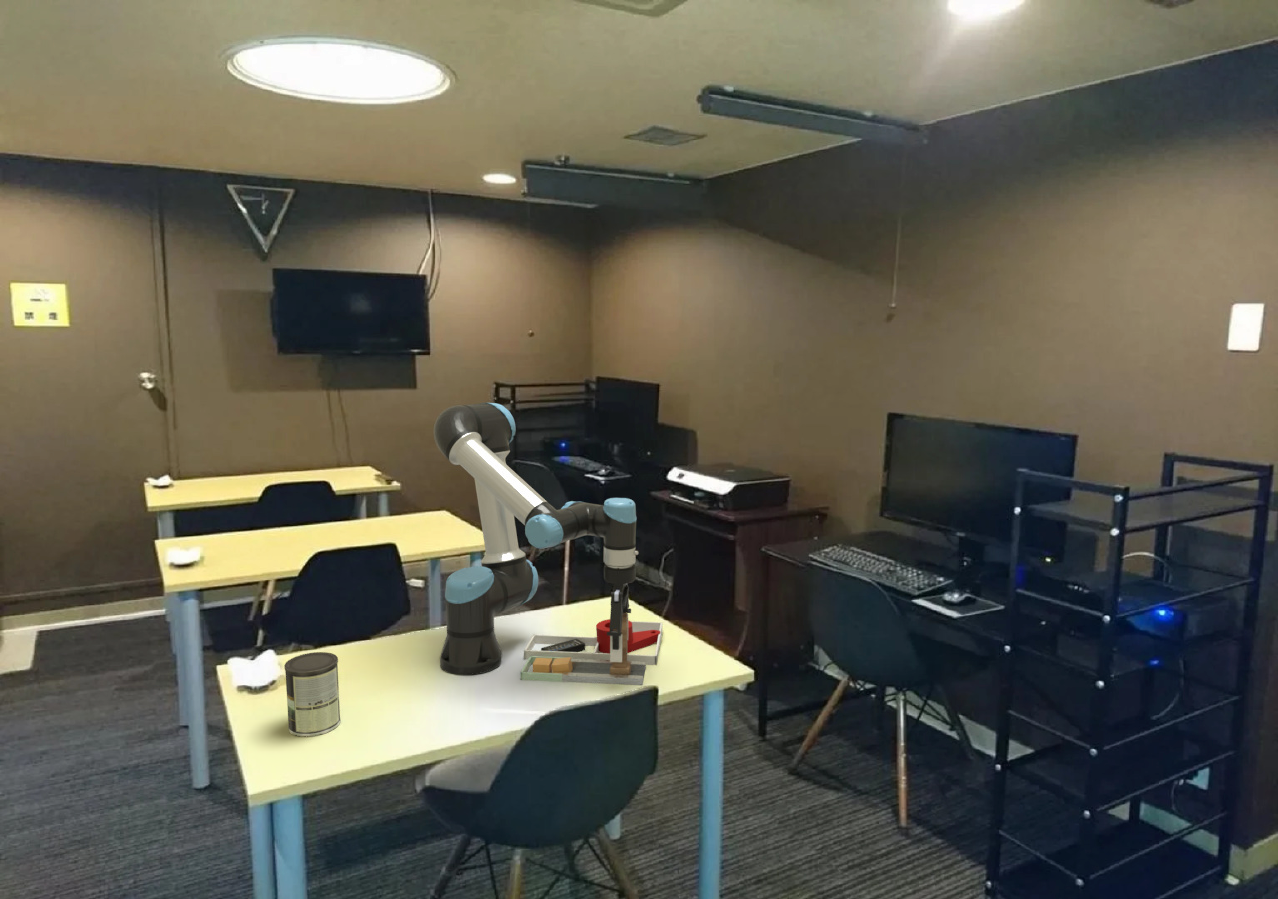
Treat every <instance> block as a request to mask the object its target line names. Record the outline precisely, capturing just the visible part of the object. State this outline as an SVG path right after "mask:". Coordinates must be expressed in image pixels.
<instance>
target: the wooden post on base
mask: <svg viewBox="0 0 1278 899" xmlns="http://www.w3.org/2000/svg"><path fill="white" fill-rule="evenodd" d="M628 620H629V613H623V618H622V631H621V632H622V662H612V664H611V667H610V674H614V675H630V673H631V662H627V654H628V653H627V639H628ZM616 631H618V630H616Z"/></svg>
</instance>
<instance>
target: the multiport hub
mask: <svg viewBox="0 0 1278 899" xmlns="http://www.w3.org/2000/svg"><path fill="white" fill-rule="evenodd" d="M540 651H561V652H584V651H586V646H585V643H583V642H581V641H580V640H578V639H574V640H570V641H566V642H562V643H558V644H550V645H548V646H544V647H541V648H540Z"/></svg>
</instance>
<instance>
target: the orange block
mask: <svg viewBox="0 0 1278 899" xmlns="http://www.w3.org/2000/svg"><path fill="white" fill-rule="evenodd" d="M572 669H573V668H572V661H571V657H567V658H557V659H554V661H553V663H552V671H551V672H552V673H559V674H563V672H569V673H571V672H572Z"/></svg>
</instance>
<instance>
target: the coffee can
mask: <svg viewBox="0 0 1278 899" xmlns="http://www.w3.org/2000/svg"><path fill="white" fill-rule="evenodd" d="M338 663H339V658H338V656H337V655H336V654H334V653H331V652H326V651H317V652H307V653H304V654H300V655H296V656H294V657H292V658H290V659H288V660H287V661H286V662H285V663H284V666H283V667H284V671H285V683H286V684H285V686H286V699H287V700H286V702H287V719H288V720H287V721H288V728H287V730H288V732H289V733H290V734H291V735H293V734H294V735H293V736H295V735H297V736H296V737H299V736H306V737H305V738H308V737H307V736H311V737H316V736H315V735H318V736H320V735H319V734H322V735H324V734H327V733H330V732H332V731H333V730H335V729H336V728H338V726H339V725H340V723H341V722H342V721H341V710H340V708H341V707H340V687H339V668H338Z"/></svg>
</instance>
